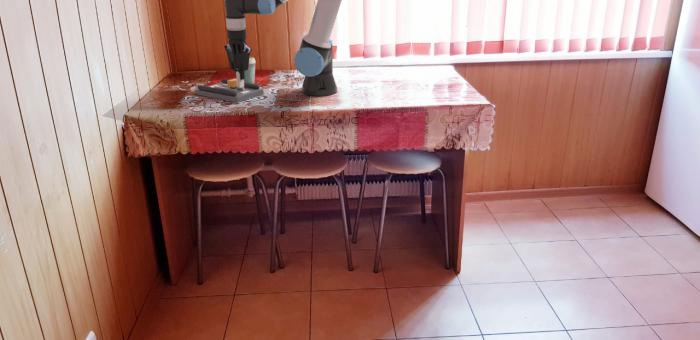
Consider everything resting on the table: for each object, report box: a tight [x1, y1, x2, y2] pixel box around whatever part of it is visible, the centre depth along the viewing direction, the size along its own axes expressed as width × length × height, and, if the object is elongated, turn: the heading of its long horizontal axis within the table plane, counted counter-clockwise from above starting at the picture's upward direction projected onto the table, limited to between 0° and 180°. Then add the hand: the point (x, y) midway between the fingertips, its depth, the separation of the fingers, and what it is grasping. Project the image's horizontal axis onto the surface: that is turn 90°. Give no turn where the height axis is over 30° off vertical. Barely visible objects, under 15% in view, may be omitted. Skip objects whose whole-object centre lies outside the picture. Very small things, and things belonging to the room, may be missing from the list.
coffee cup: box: [244, 56, 257, 84], centre depth 233 cm, size 8×9×12 cm
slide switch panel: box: [195, 81, 264, 103], centre depth 219 cm, size 24×16×3 cm, turn 59°
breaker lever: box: [227, 78, 239, 90], centre depth 216 cm, size 3×5×4 cm, turn 148°
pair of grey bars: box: [197, 78, 261, 96], centre depth 218 cm, size 21×16×2 cm
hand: (240, 86), depth 214 cm, fingers closed
